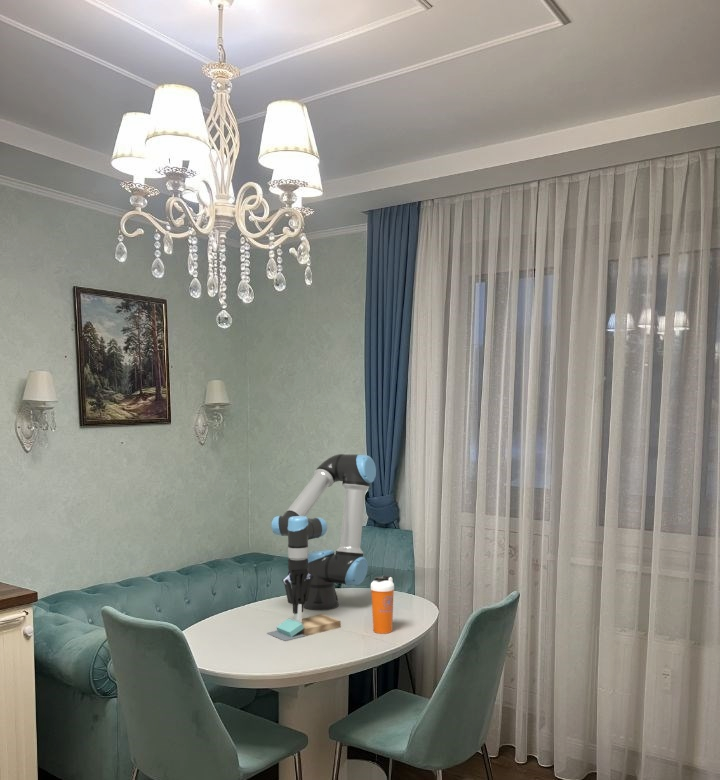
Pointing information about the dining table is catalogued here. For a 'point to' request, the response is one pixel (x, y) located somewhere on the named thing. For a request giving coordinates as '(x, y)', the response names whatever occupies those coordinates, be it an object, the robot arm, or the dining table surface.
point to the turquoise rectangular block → (290, 627)
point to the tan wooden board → (319, 624)
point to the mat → (283, 636)
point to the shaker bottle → (382, 604)
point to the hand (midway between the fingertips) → (298, 621)
